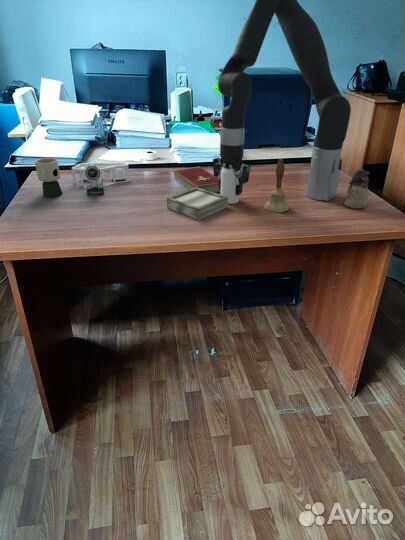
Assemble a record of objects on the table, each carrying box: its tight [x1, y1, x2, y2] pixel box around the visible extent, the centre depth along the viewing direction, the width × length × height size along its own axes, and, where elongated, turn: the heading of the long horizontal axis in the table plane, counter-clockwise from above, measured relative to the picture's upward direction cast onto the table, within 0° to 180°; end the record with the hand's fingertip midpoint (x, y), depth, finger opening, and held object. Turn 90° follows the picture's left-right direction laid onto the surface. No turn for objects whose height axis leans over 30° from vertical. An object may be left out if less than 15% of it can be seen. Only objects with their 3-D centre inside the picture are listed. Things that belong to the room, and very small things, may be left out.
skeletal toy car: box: [71, 161, 131, 187], centre depth 149 cm, size 20×11×7 cm, turn 93°
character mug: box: [34, 157, 63, 199], centre depth 135 cm, size 11×7×13 cm, turn 4°
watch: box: [85, 162, 105, 196], centre depth 138 cm, size 6×8×11 cm
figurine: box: [343, 168, 370, 209], centre depth 131 cm, size 7×7×12 cm
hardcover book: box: [172, 166, 221, 193], centre depth 149 cm, size 12×21×4 cm, turn 26°
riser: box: [166, 187, 229, 220], centre depth 130 cm, size 14×14×4 cm
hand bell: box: [263, 158, 290, 213], centre depth 127 cm, size 8×8×16 cm
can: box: [219, 167, 241, 205], centre depth 133 cm, size 6×6×12 cm
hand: (229, 192), depth 134 cm, fingers closed on can, 6 cm apart
